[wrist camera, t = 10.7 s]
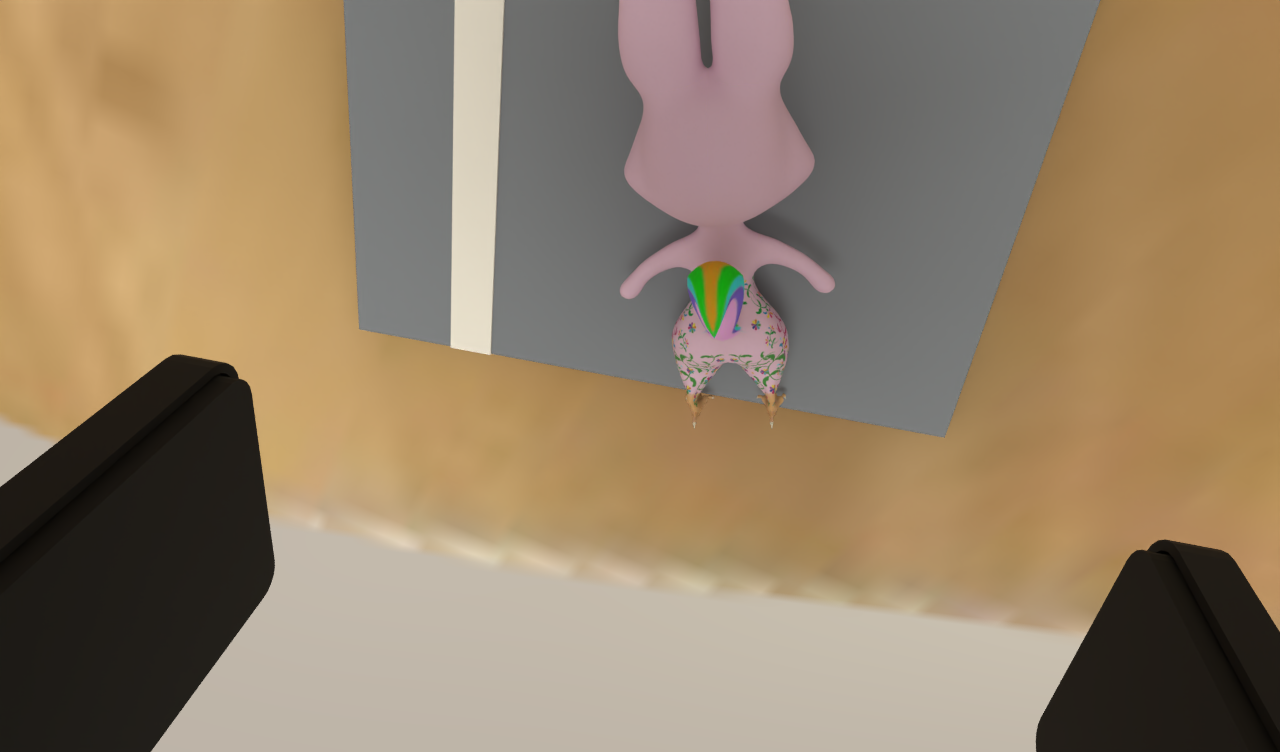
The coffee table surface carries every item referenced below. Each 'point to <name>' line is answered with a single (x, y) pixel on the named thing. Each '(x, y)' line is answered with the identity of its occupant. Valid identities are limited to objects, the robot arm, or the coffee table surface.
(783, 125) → the rabbit figure
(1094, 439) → the coffee table surface
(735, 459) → the coffee table surface
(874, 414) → the mat
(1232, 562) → the robot arm
